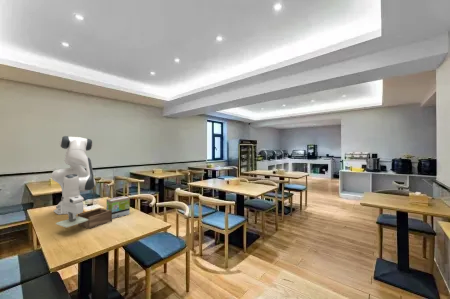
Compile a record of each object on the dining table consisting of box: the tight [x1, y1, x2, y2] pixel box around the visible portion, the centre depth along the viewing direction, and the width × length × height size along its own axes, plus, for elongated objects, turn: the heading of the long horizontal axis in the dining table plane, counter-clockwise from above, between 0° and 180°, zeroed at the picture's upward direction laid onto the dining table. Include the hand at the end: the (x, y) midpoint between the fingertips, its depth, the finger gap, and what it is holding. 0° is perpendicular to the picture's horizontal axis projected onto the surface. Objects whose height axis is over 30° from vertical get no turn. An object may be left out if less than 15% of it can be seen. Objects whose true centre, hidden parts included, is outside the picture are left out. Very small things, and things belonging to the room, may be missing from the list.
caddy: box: [77, 207, 113, 230], centre depth 152 cm, size 15×16×8 cm
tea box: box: [105, 195, 131, 220], centre depth 169 cm, size 15×10×15 cm, turn 143°
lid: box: [55, 213, 88, 228], centre depth 138 cm, size 13×13×6 cm
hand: (72, 217), depth 138 cm, fingers closed on lid, 3 cm apart
